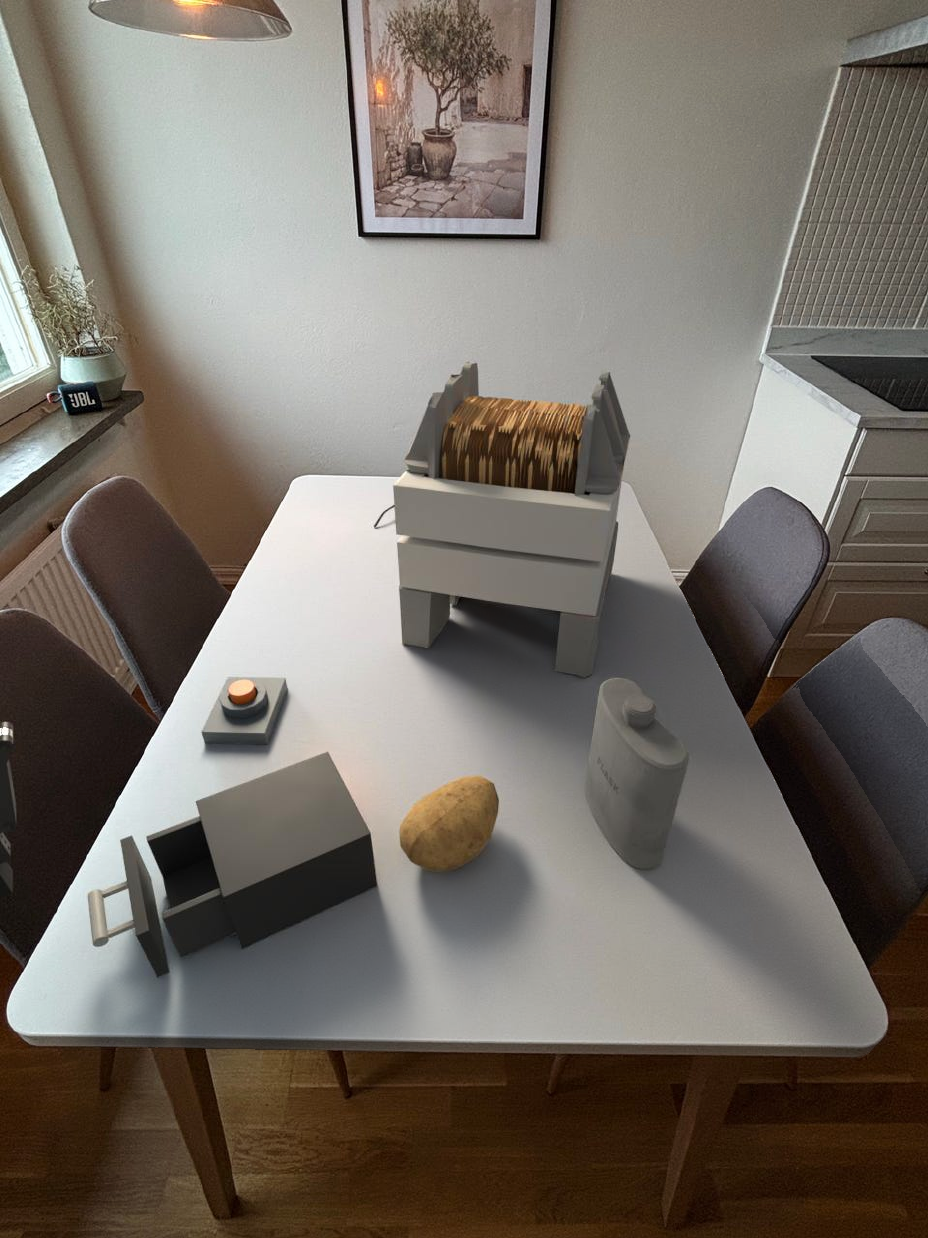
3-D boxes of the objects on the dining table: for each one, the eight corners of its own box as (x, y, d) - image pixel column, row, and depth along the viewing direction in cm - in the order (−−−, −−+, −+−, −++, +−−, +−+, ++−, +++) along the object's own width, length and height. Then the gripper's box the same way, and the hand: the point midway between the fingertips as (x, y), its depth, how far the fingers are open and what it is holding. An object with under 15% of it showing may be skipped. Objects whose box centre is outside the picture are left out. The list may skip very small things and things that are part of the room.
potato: (520, 832, 84) (523, 788, 80) (440, 909, 76) (439, 865, 71) (462, 790, 90) (462, 747, 85) (382, 857, 82) (377, 814, 77)
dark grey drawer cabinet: (241, 950, 72) (223, 897, 67) (213, 853, 82) (195, 801, 76) (377, 886, 78) (370, 833, 73) (336, 803, 88) (327, 751, 83)
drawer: (111, 999, 67) (86, 957, 63) (99, 899, 76) (76, 856, 72) (296, 913, 75) (285, 871, 70) (265, 831, 84) (254, 788, 79)
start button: (252, 705, 98) (249, 696, 97) (227, 704, 98) (225, 695, 97) (259, 688, 101) (257, 679, 100) (235, 688, 101) (232, 679, 100)
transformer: (454, 550, 142) (451, 346, 118) (612, 572, 135) (643, 359, 111) (397, 646, 115) (380, 407, 92) (591, 679, 108) (626, 429, 84)
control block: (267, 744, 97) (262, 724, 94) (204, 743, 97) (198, 722, 95) (287, 688, 107) (283, 668, 104) (230, 687, 107) (225, 667, 104)
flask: (573, 782, 91) (588, 665, 79) (612, 772, 92) (633, 656, 81) (625, 877, 79) (652, 757, 68) (670, 864, 81) (704, 745, 69)
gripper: (-23, 634, 53) (78, 826, 67) (-235, 689, 48) (-78, 884, 62) (-26, 690, 48) (85, 886, 62) (-265, 758, 43) (-86, 955, 57)
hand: (3, 885), depth 62 cm, fingers closed
